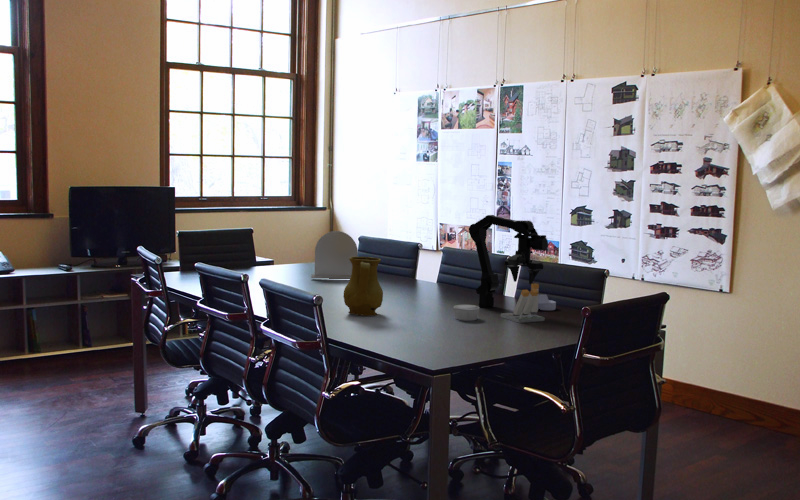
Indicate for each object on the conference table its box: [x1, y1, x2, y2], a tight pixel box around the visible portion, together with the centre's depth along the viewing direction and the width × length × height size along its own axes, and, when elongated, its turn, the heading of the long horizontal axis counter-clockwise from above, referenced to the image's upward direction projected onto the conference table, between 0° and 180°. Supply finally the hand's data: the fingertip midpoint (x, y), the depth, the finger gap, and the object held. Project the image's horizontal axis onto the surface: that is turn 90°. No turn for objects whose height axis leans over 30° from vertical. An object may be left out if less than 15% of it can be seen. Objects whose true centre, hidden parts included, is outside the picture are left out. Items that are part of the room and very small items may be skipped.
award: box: [310, 230, 359, 279], centre depth 428 cm, size 28×9×28 cm, turn 97°
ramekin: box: [453, 304, 481, 322], centre depth 322 cm, size 11×11×5 cm
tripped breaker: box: [530, 282, 540, 315], centre depth 324 cm, size 2×3×13 cm
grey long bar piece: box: [522, 288, 540, 315], centre depth 319 cm, size 2×3×13 cm
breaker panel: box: [500, 311, 546, 324], centre depth 325 cm, size 14×13×2 cm
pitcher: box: [343, 256, 384, 317], centre depth 326 cm, size 17×19×25 cm
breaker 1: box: [513, 289, 530, 316], centre depth 317 cm, size 2×3×13 cm
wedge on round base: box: [526, 294, 557, 311], centre depth 350 cm, size 9×7×13 cm
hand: (522, 283), depth 339 cm, fingers open, 9 cm apart
